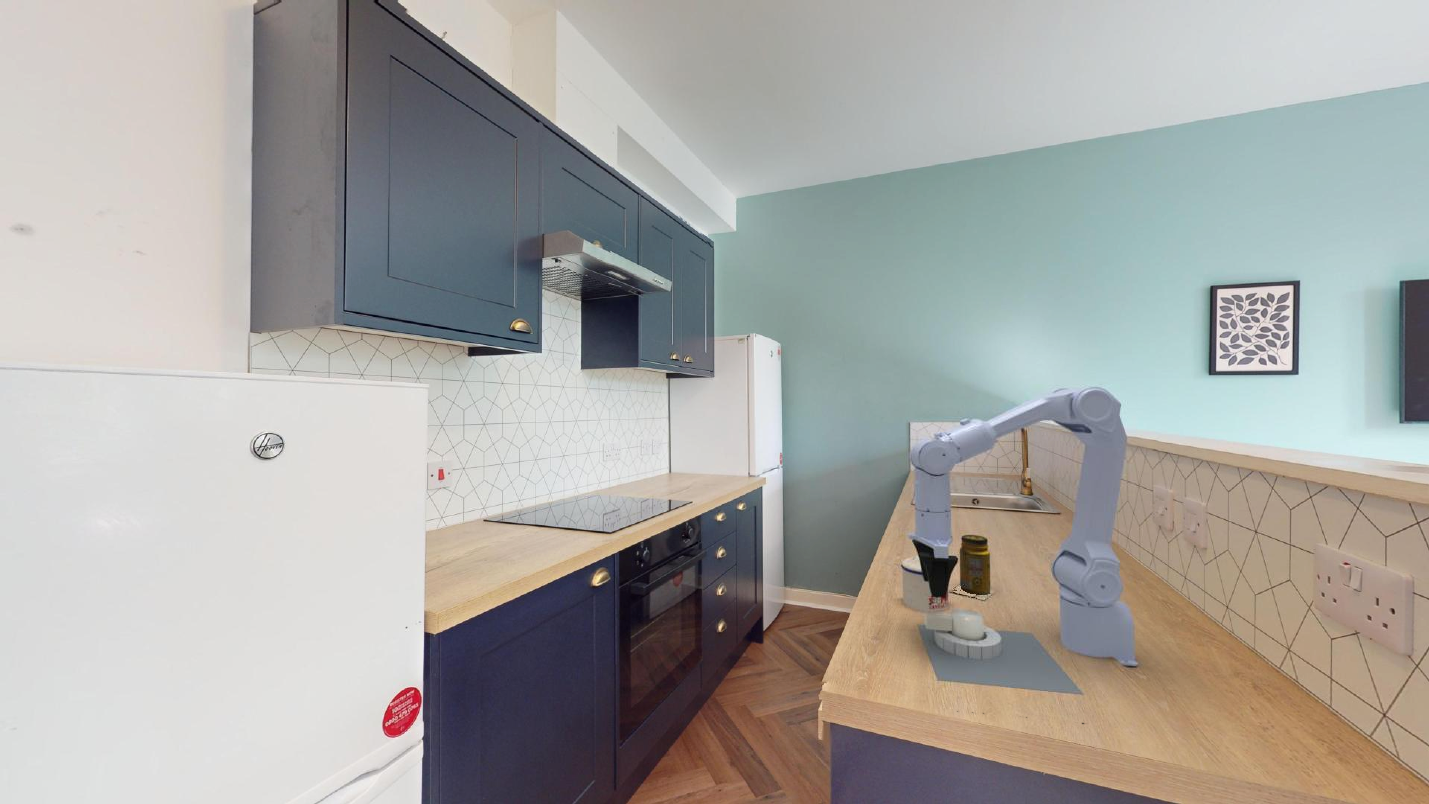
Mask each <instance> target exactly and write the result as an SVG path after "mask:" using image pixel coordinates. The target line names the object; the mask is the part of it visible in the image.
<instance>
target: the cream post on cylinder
mask: <svg viewBox="0 0 1429 804" xmlns="http://www.w3.org/2000/svg"><path fill="white" fill-rule="evenodd" d="M949 613H950V614H947V613H937V612H924V625H926V628H927V629H932V630H945V631H951V635H953V636H955V637H957V638H960V639H964V640H970V641H980V640H984V626H985V625H984V616H983V615H982V614H981V613H979V612H977V611H974V610H971V609H966V608H965V609H963V608H960V609H959V608H957V609H952V610H951V611H950V612H949Z"/></svg>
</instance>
